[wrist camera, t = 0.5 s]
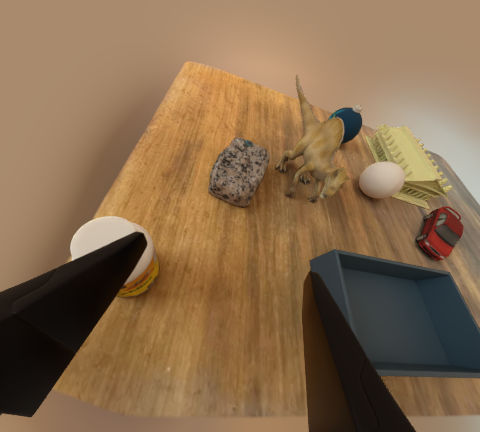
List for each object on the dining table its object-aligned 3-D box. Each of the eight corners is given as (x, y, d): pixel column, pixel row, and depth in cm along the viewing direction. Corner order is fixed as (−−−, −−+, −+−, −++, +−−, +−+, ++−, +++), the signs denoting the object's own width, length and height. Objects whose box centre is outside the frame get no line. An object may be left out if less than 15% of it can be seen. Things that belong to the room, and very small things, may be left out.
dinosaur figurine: (285, 228, 31) (347, 176, 20) (268, 130, 44) (299, 65, 33) (323, 232, 33) (398, 187, 22) (295, 137, 46) (333, 79, 35)
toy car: (443, 229, 45) (470, 220, 41) (431, 263, 37) (463, 256, 33) (425, 212, 46) (449, 202, 42) (409, 242, 38) (437, 232, 34)
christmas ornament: (324, 126, 53) (351, 90, 45) (347, 143, 52) (379, 110, 44) (313, 135, 49) (341, 97, 41) (338, 154, 48) (372, 119, 40)
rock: (225, 148, 36) (230, 128, 32) (264, 166, 37) (274, 149, 33) (200, 193, 29) (204, 175, 25) (250, 214, 30) (260, 199, 26)
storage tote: (323, 364, 22) (361, 375, 18) (309, 260, 29) (334, 249, 24) (450, 369, 27) (506, 378, 22) (412, 278, 34) (449, 272, 29)
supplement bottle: (107, 307, 19) (49, 295, 10) (103, 256, 21) (54, 212, 12) (164, 288, 21) (155, 266, 13) (156, 244, 23) (144, 201, 15)
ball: (347, 174, 44) (377, 148, 38) (374, 183, 46) (407, 160, 39) (354, 199, 40) (389, 175, 34) (383, 209, 42) (422, 188, 35)
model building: (429, 209, 48) (465, 193, 42) (389, 196, 45) (421, 177, 39) (396, 149, 61) (420, 130, 55) (363, 135, 58) (385, 114, 52)
